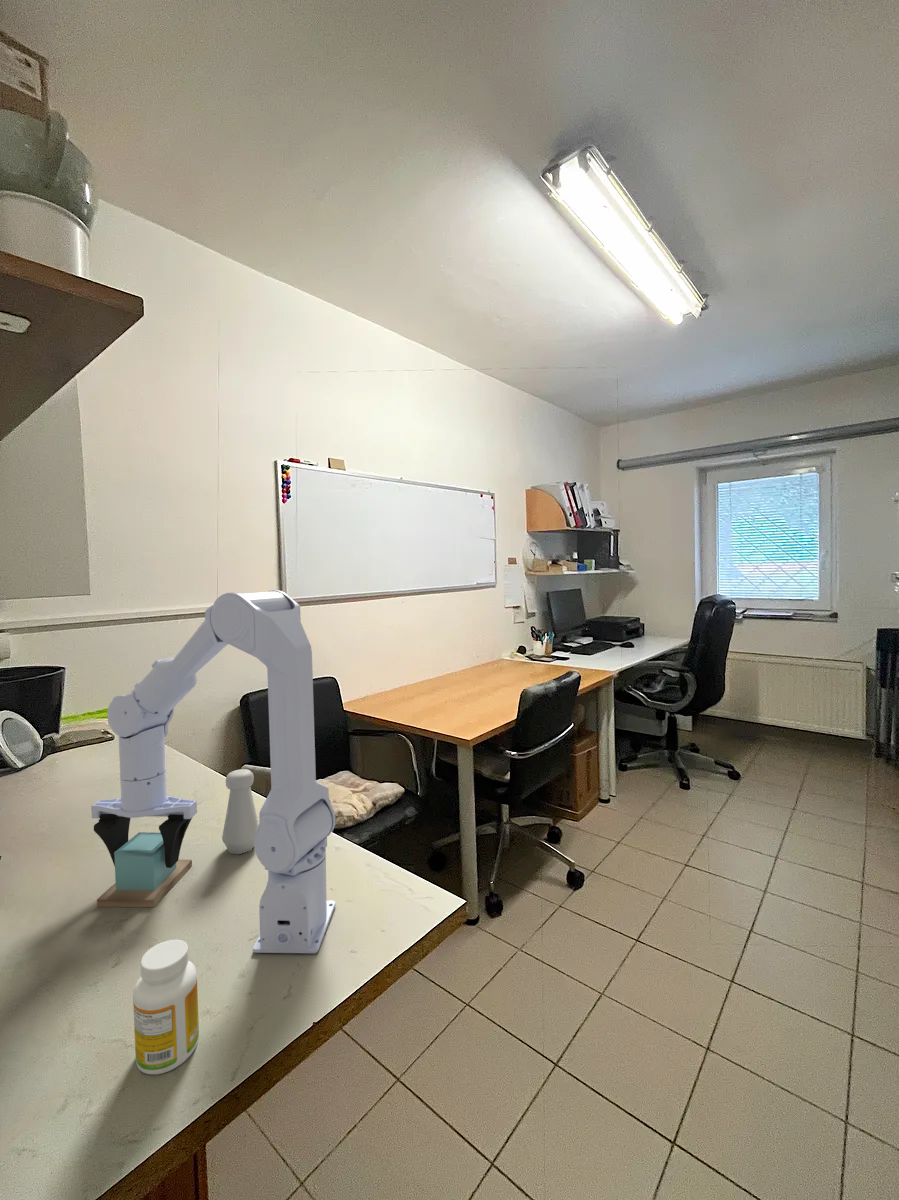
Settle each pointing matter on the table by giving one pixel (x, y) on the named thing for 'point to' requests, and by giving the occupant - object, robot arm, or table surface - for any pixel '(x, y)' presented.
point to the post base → (143, 891)
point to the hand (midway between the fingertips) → (146, 863)
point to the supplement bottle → (165, 1008)
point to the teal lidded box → (141, 863)
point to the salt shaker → (240, 813)
